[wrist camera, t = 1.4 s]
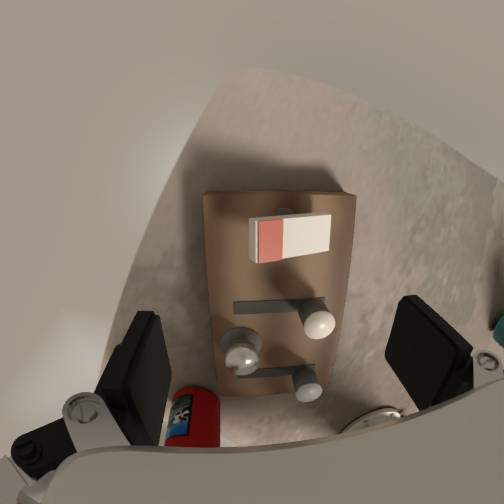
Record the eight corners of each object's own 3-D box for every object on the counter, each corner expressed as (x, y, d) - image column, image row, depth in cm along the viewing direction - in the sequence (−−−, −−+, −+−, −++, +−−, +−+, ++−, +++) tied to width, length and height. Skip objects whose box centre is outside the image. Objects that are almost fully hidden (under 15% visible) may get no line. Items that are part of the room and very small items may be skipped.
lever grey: (315, 361, 30) (323, 382, 27) (312, 378, 31) (320, 400, 28) (291, 363, 30) (297, 386, 26) (289, 381, 31) (294, 403, 27)
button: (257, 338, 27) (258, 350, 25) (256, 361, 28) (258, 374, 26) (224, 339, 27) (224, 351, 25) (226, 363, 28) (226, 375, 26)
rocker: (322, 212, 24) (332, 215, 23) (320, 247, 25) (330, 251, 24) (248, 218, 21) (256, 222, 20) (249, 258, 22) (256, 263, 21)
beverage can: (175, 378, 34) (161, 451, 23) (224, 388, 35) (224, 461, 24) (171, 408, 36) (160, 473, 25) (216, 416, 37) (215, 482, 26)
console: (344, 191, 28) (364, 198, 23) (322, 373, 35) (332, 397, 31) (205, 191, 27) (200, 198, 22) (219, 380, 34) (218, 406, 30)
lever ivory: (325, 292, 27) (337, 311, 24) (322, 317, 28) (332, 337, 25) (296, 294, 27) (305, 313, 24) (295, 319, 28) (303, 340, 24)
